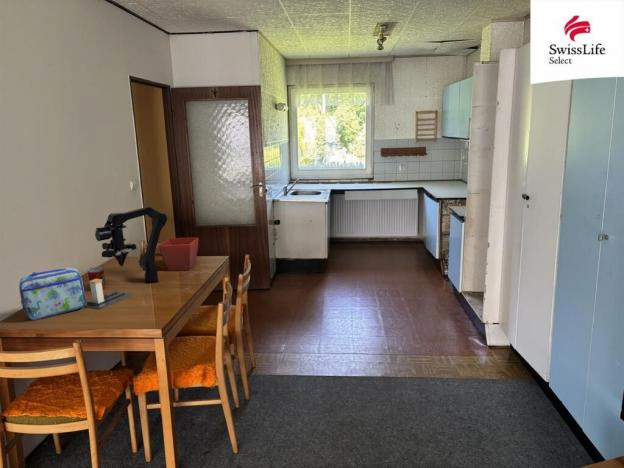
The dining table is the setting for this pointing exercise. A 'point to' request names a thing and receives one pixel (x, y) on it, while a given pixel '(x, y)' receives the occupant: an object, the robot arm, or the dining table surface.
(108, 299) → the plate
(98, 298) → the fader knob
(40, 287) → the lunch box
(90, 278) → the canned food
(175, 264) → the plant pot
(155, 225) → the robot arm
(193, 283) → the dining table surface
